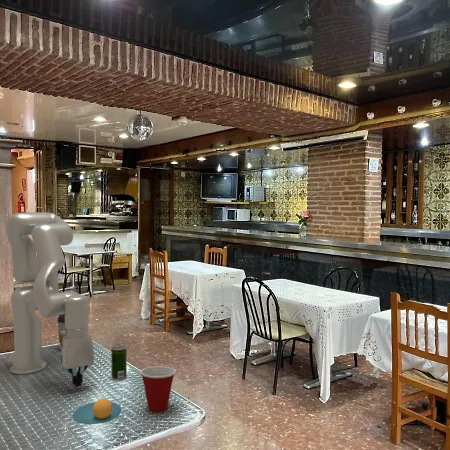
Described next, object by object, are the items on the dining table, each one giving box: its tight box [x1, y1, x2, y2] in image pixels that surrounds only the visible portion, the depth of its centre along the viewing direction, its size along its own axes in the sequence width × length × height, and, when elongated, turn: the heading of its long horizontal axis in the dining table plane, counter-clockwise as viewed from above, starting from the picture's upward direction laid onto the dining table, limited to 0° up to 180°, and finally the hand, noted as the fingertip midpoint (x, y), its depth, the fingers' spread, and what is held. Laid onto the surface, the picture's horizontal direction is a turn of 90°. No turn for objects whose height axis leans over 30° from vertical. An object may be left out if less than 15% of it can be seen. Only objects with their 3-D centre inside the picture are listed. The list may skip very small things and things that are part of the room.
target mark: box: [72, 401, 122, 425], centre depth 130 cm, size 14×14×1 cm
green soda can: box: [110, 342, 128, 381], centre depth 157 cm, size 5×5×12 cm
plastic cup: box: [140, 365, 177, 414], centre depth 133 cm, size 11×11×12 cm
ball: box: [93, 398, 112, 419], centre depth 127 cm, size 6×6×6 cm
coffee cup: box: [57, 314, 65, 350], centre depth 188 cm, size 8×8×15 cm
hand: (77, 385), depth 146 cm, fingers closed
